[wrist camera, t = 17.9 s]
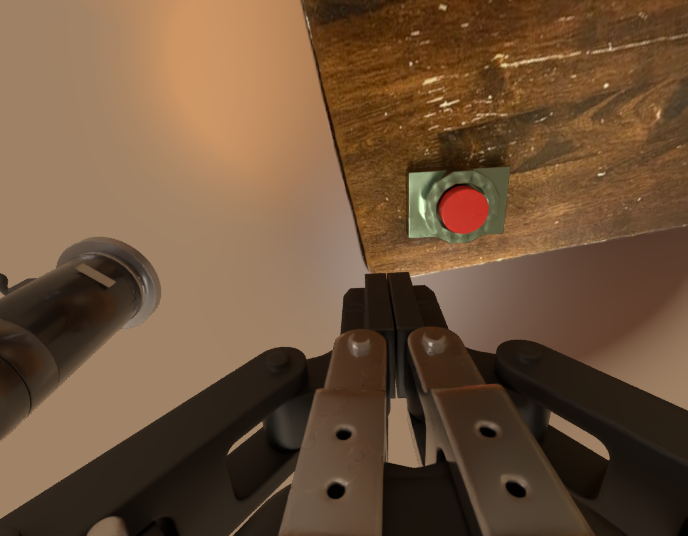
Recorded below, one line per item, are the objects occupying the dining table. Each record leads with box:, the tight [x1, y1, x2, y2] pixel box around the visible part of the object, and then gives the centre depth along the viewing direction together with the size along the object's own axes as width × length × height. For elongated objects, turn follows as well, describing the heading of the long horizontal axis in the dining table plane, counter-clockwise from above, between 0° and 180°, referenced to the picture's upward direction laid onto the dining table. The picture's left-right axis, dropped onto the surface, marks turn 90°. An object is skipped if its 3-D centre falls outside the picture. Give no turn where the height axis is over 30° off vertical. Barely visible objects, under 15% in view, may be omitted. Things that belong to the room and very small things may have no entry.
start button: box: [439, 186, 489, 234], centre depth 36 cm, size 4×4×2 cm
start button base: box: [406, 163, 510, 243], centre depth 39 cm, size 10×7×4 cm
